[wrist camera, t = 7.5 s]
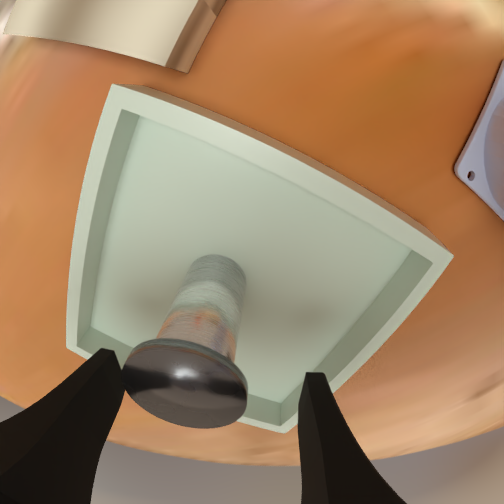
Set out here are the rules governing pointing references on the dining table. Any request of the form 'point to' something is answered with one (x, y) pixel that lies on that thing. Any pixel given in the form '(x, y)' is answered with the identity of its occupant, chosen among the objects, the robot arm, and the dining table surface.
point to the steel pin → (195, 351)
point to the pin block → (122, 26)
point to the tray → (238, 247)
